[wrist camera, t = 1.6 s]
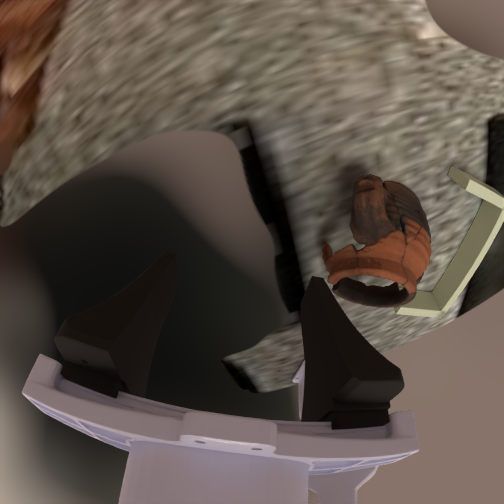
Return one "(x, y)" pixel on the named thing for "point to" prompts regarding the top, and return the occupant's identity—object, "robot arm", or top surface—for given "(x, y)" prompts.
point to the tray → (462, 251)
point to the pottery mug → (382, 245)
